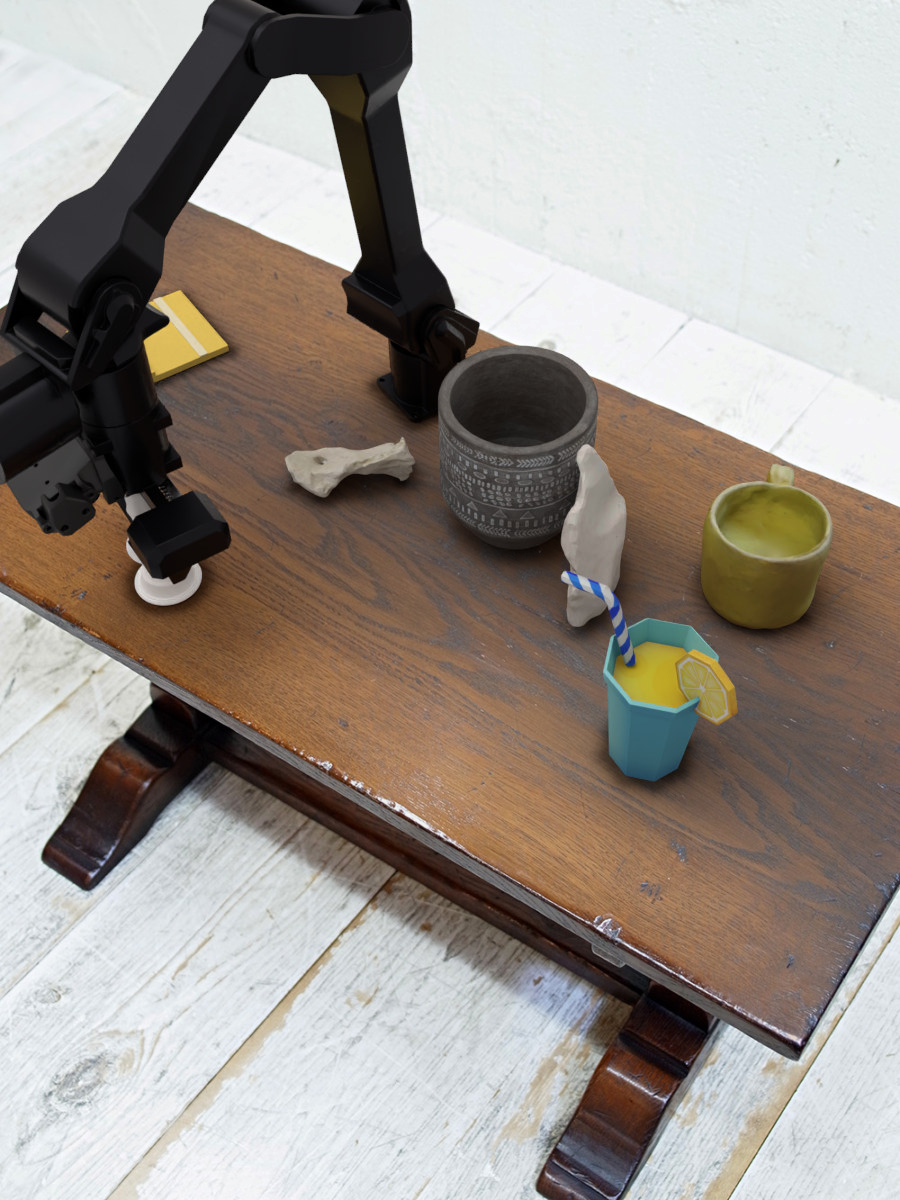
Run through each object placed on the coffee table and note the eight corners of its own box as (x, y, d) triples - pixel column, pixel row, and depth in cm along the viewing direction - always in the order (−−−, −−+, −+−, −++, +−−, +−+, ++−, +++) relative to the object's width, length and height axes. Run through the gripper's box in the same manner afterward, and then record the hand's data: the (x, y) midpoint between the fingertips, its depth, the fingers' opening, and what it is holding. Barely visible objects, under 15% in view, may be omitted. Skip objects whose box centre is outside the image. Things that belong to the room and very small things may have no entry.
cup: (524, 732, 94) (530, 603, 82) (582, 661, 97) (596, 529, 86) (692, 833, 88) (724, 711, 76) (747, 754, 92) (785, 627, 80)
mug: (813, 657, 95) (806, 542, 90) (683, 635, 100) (670, 525, 95) (863, 570, 103) (860, 459, 98) (740, 554, 108) (731, 449, 103)
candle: (188, 611, 101) (158, 510, 92) (124, 599, 102) (88, 497, 92) (211, 560, 104) (185, 457, 95) (150, 549, 105) (117, 445, 95)
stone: (623, 644, 97) (602, 498, 87) (569, 641, 99) (541, 497, 88) (642, 546, 104) (624, 399, 94) (591, 544, 105) (568, 400, 95)
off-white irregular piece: (285, 467, 111) (278, 430, 107) (403, 445, 112) (401, 407, 109) (296, 514, 107) (290, 477, 104) (418, 490, 109) (416, 453, 105)
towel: (229, 351, 120) (227, 340, 119) (111, 401, 116) (108, 391, 115) (181, 295, 126) (179, 285, 125) (67, 341, 122) (63, 331, 121)
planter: (588, 462, 110) (598, 345, 100) (588, 571, 103) (600, 457, 93) (446, 457, 111) (442, 341, 101) (436, 565, 103) (431, 451, 93)
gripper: (-48, 368, 90) (13, 520, 102) (58, 533, 80) (111, 678, 92) (99, 311, 94) (141, 463, 106) (217, 461, 84) (249, 610, 96)
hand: (157, 550), depth 100 cm, fingers closed on candle, 7 cm apart
